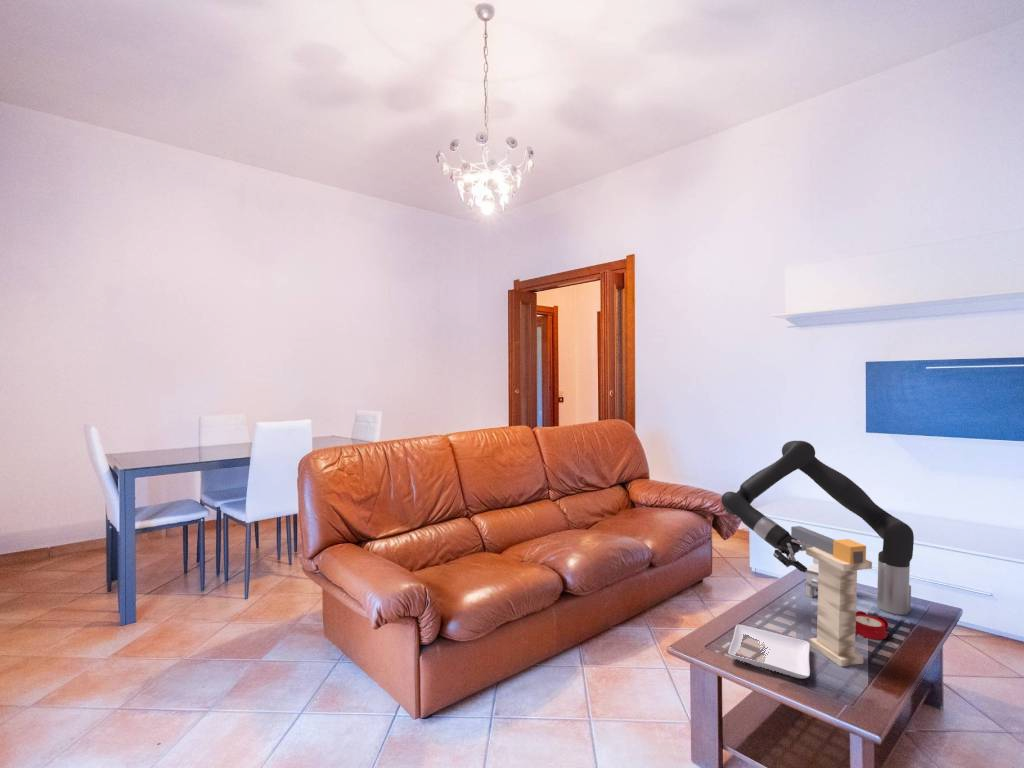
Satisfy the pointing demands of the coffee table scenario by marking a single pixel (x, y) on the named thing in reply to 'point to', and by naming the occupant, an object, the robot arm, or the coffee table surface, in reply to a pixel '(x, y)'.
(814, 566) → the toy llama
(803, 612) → the coffee table surface
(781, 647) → the salad plate
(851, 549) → the orange-tipped gray rod
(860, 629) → the alarm clock
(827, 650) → the stand
